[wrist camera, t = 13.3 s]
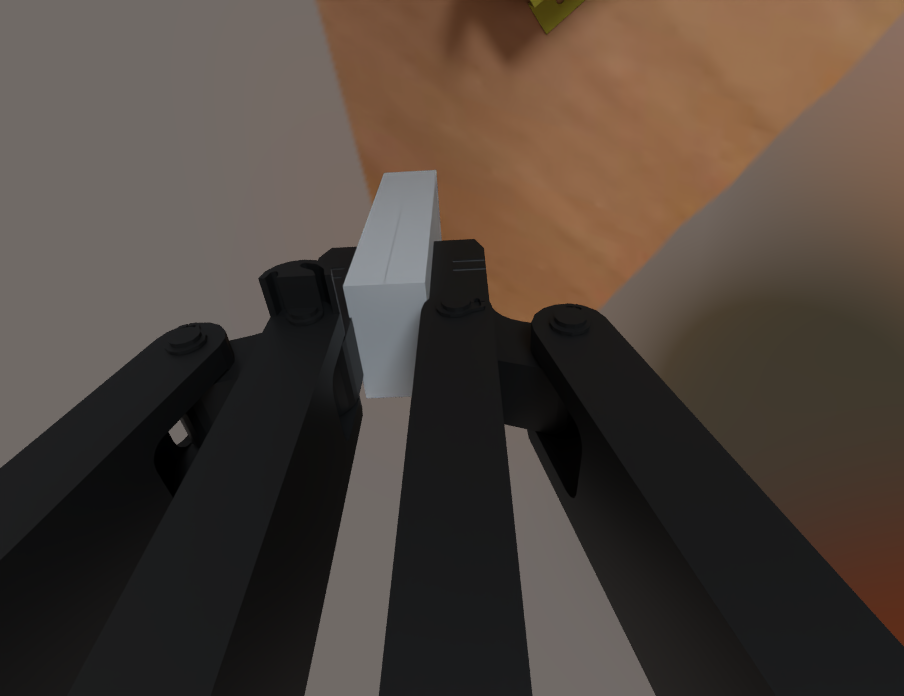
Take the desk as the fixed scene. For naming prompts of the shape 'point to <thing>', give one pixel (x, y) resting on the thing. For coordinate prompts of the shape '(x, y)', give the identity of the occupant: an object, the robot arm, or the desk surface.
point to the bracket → (552, 11)
